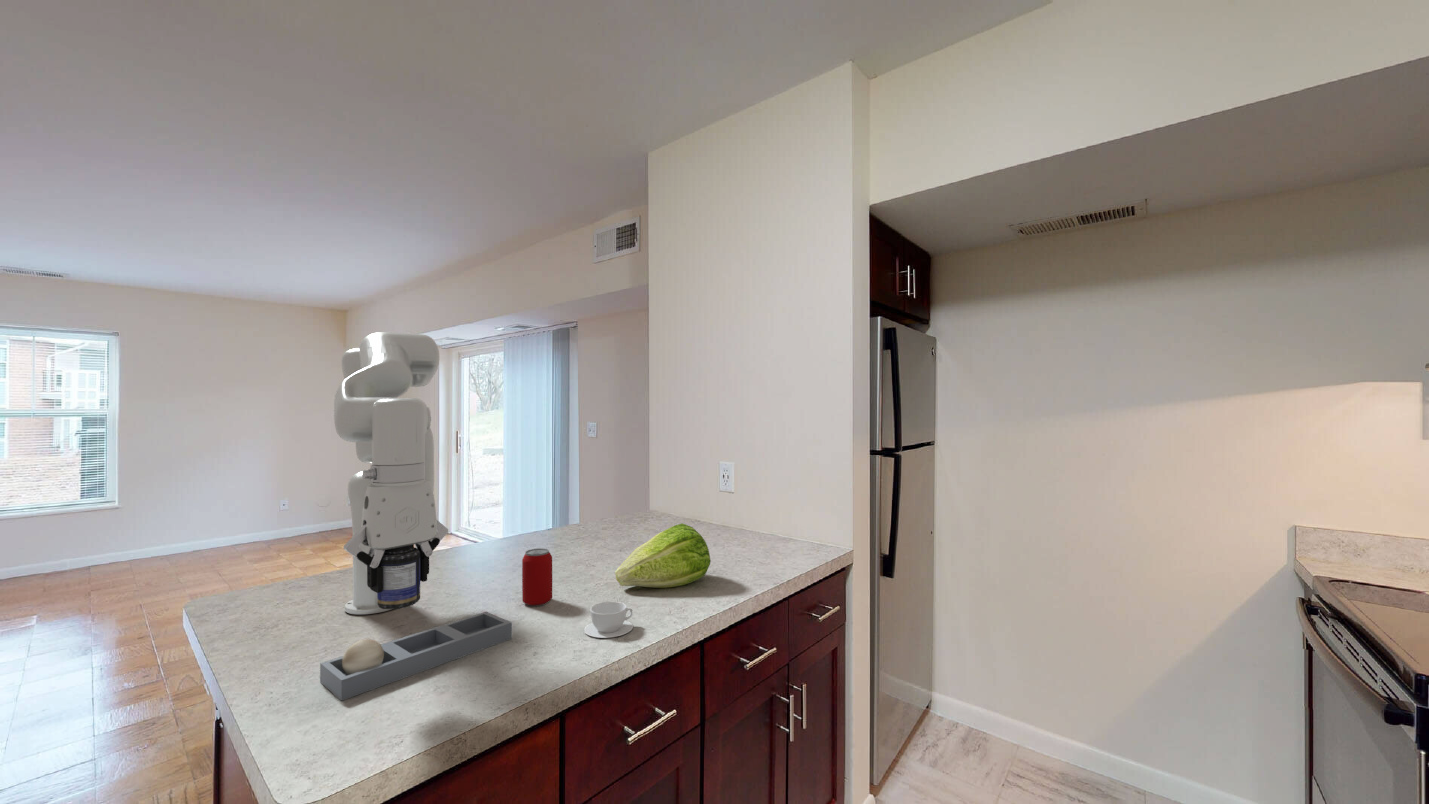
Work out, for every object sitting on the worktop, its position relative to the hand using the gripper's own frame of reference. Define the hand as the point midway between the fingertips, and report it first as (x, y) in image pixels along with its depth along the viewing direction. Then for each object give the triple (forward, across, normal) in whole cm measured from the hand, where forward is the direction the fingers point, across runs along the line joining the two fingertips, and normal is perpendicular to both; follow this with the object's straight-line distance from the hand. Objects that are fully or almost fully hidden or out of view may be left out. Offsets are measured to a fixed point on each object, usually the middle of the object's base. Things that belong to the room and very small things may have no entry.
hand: (399, 584), depth 91 cm
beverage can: (+18, +38, +18) cm, 45 cm away
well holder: (+17, +8, +9) cm, 21 cm away
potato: (+14, -2, +9) cm, 16 cm away
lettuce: (+18, +66, +4) cm, 68 cm away
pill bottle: (+3, 0, 0) cm, 3 cm away
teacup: (+18, +38, -8) cm, 42 cm away
